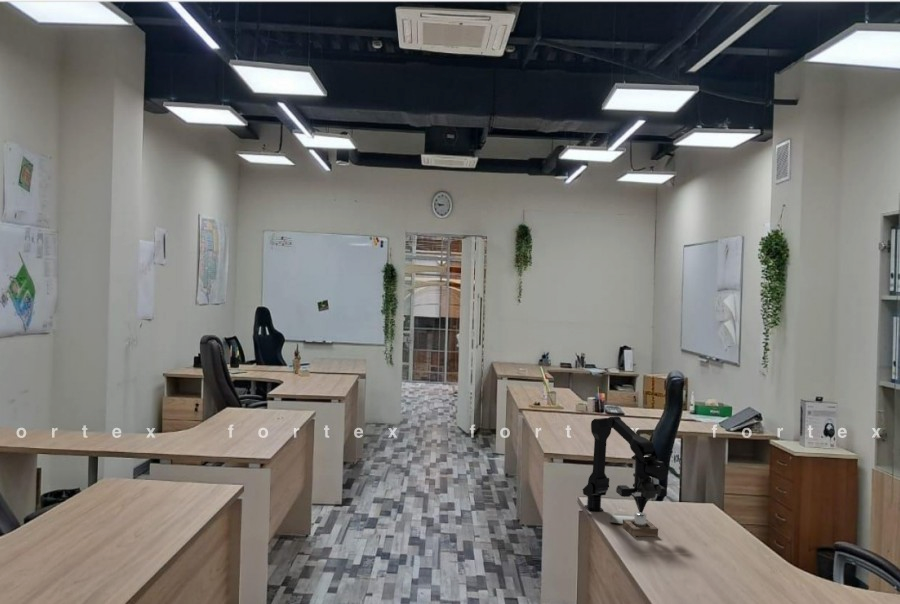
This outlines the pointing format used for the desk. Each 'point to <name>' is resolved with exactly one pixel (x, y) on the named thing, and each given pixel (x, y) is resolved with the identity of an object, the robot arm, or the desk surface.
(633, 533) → the frame
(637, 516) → the metal cylinder
